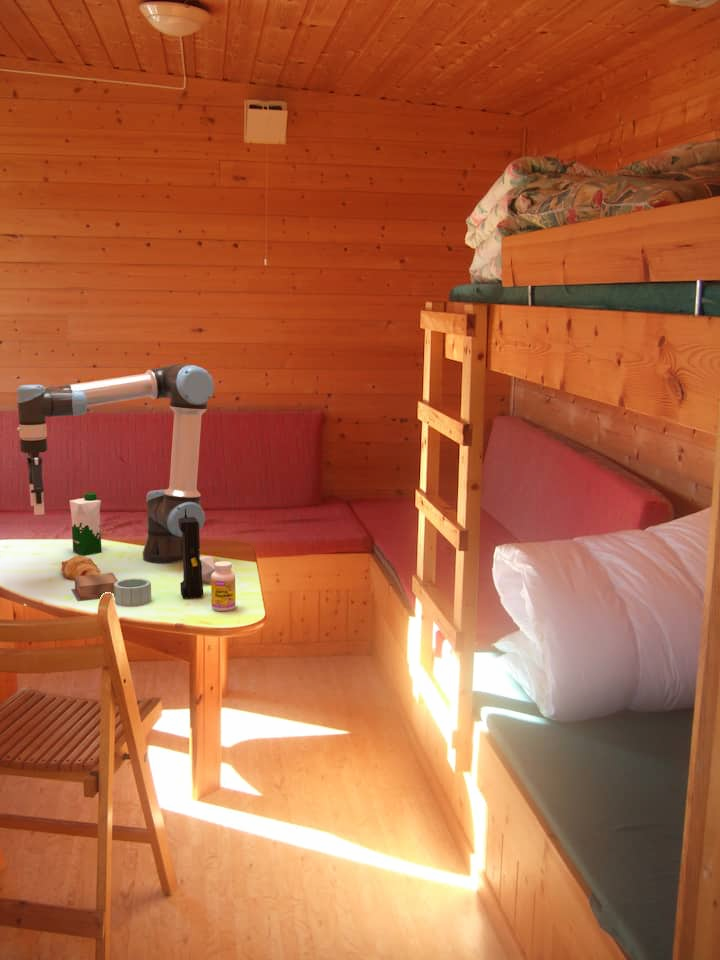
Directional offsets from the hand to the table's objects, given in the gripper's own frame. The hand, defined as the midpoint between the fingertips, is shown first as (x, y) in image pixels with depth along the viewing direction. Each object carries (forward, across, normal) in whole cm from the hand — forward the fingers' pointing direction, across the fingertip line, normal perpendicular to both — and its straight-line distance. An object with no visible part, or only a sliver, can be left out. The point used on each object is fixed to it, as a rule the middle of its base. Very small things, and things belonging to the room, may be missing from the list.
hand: (37, 509), depth 288 cm
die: (+24, +12, +46) cm, 54 cm away
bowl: (+24, +24, +23) cm, 41 cm away
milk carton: (+24, -38, +18) cm, 49 cm away
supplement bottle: (+24, +40, +45) cm, 65 cm away
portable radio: (+24, +25, +40) cm, 53 cm away
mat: (+24, +13, +14) cm, 30 cm away
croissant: (+24, -7, +12) cm, 28 cm away
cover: (+23, +13, +14) cm, 30 cm away
